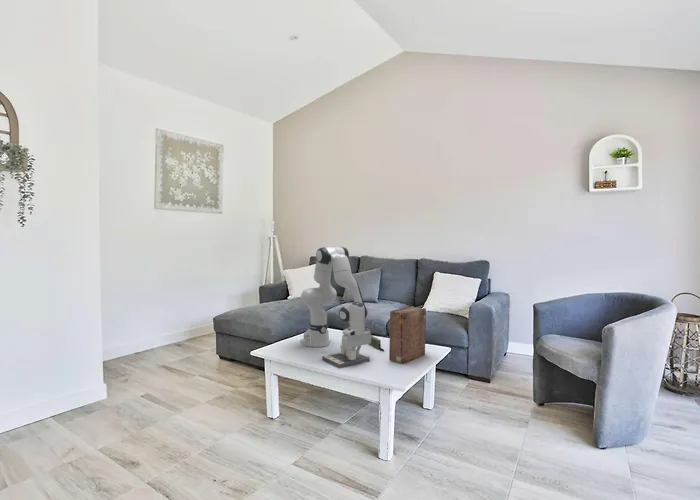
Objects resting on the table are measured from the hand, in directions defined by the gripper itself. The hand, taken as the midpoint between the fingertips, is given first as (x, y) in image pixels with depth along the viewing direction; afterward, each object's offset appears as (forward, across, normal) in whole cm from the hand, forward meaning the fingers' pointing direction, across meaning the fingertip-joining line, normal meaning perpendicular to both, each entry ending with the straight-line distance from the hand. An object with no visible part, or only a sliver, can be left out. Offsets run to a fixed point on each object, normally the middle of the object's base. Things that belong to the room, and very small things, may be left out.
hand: (356, 353), depth 229 cm
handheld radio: (+6, -30, -17) cm, 35 cm away
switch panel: (+5, +4, -6) cm, 8 cm away
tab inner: (+3, +1, -11) cm, 11 cm away
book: (+5, -31, +12) cm, 34 cm away
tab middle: (+3, +1, -5) cm, 6 cm away
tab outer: (+3, +3, 0) cm, 4 cm away
